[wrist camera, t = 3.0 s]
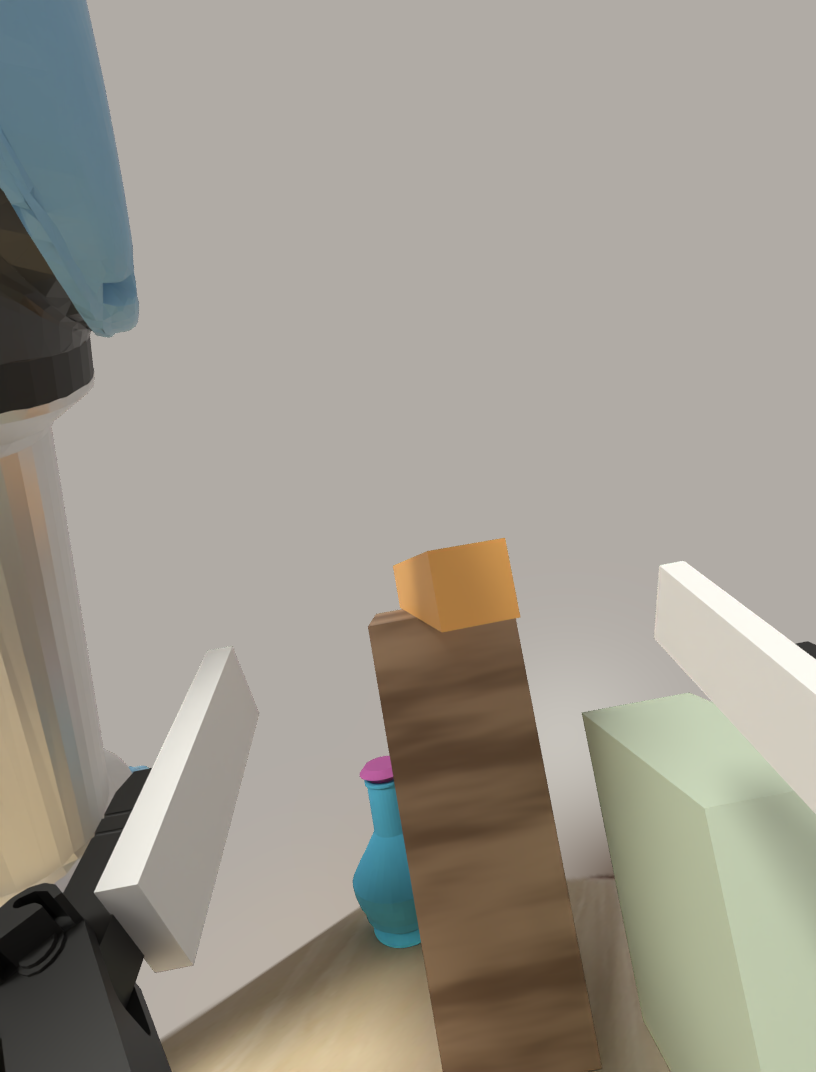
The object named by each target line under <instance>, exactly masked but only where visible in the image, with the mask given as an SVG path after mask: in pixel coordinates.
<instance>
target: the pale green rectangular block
mask: <svg viewBox="0 0 816 1072" xmlns="http://www.w3.org/2000/svg"><path fill="white" fill-rule="evenodd" d="M582 716H583V721H584V726H585V731H586V736H587V741H588V746H589V751H590V756H591V761H592V766H593V771H594V776H595V782H596V786H597V791H598V797H599V801H600V807H601V811H602V817H603V822H604V827H605V832H606V836H607V841H608V846H609V852H610V856H611V862H612V867H613V872H614V877H615V882H616V887H617V892H618V897H619V902H620V907H621V912H622V917H623V922H624V927H625V932H626V937H627V942H628V947H629V952H630V957H631V962H632V967H633V972H634V977H635V982H636V987H637V992H638V997H639V1002H640V1007H641V1012H642V1017H643V1021H644V1023H645V1024H646V1026H647V1028H648V1030H649V1032H650V1034H651V1036H652V1038H653V1039H654V1041H655V1043H656V1045H657V1047H658V1049H659V1051H660V1052H661V1054H662V1056H663V1058H664V1060H665V1062H666V1064H667V1065H668V1067H669V1069H670V1071H671V1072H816V814H815V813H814V812H813V811H812V810H811V809H810V808H809V806H808V805H807V804H806V803H805V802H804V801H803V800H802V799H801V798H800V797H799V796H798V795H797V793H796V792H795V791H794V790H793V789H792V788H791V787H790V786H789V785H788V784H787V783H786V781H785V780H784V779H783V778H782V777H781V776H780V775H779V774H778V773H777V772H776V771H775V769H774V768H773V767H772V766H771V765H770V764H769V763H768V762H767V761H766V760H765V759H764V757H763V756H762V755H761V754H760V753H759V752H758V751H757V750H756V749H755V748H754V747H753V746H752V744H751V743H750V742H749V741H748V740H747V739H746V738H745V737H744V736H743V735H742V734H741V732H740V731H739V730H738V729H737V728H736V727H735V726H734V725H733V724H732V723H731V722H730V720H729V719H728V718H727V717H726V716H725V715H724V714H723V713H722V712H721V711H720V710H719V708H718V707H717V706H716V705H715V704H714V703H713V702H710V701H708V700H706V699H703V698H701V697H698V696H696V695H694V694H691V693H684V694H679V695H674V696H669V697H663V698H658V699H652V700H647V701H641V702H636V703H631V704H625V705H620V706H615V707H609V708H604V709H598V710H593V711H588V712H583V713H582Z"/></svg>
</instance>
